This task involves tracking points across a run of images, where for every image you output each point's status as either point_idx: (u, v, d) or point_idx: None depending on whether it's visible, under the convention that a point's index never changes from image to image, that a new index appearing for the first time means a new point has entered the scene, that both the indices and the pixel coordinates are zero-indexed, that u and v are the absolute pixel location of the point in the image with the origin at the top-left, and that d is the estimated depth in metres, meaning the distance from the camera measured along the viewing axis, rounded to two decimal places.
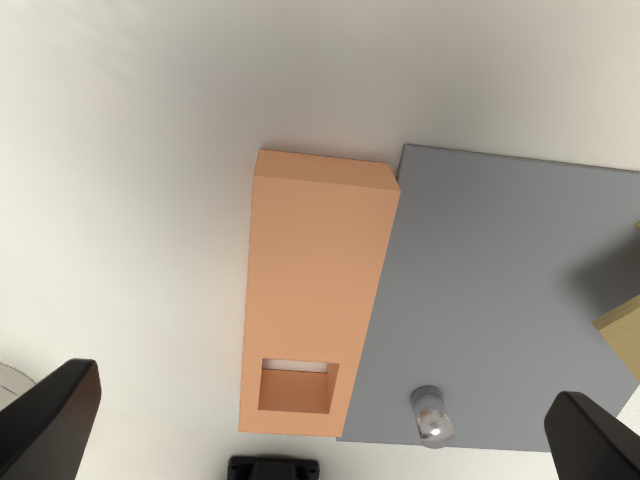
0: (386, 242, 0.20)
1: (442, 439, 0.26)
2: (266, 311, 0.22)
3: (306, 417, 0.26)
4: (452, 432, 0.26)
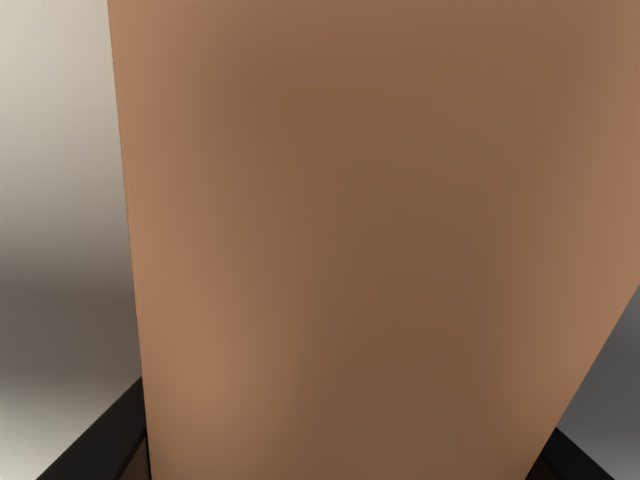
0: None
1: None
2: (217, 425, 0.07)
3: None
4: None
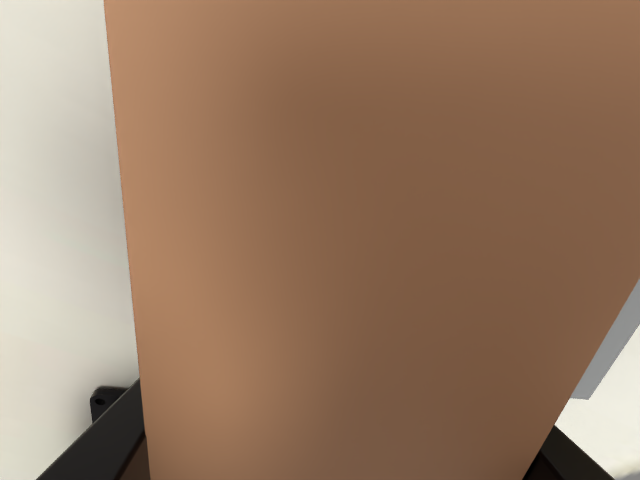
0: None
1: None
2: (214, 422, 0.07)
3: None
4: None
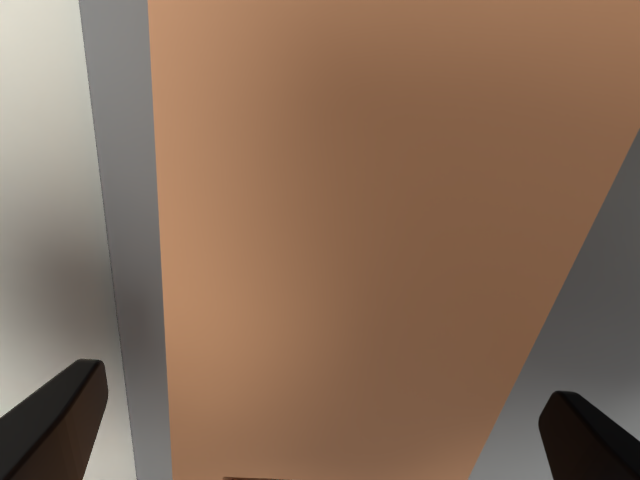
0: (626, 142, 0.06)
1: None
2: (227, 364, 0.08)
3: None
4: None
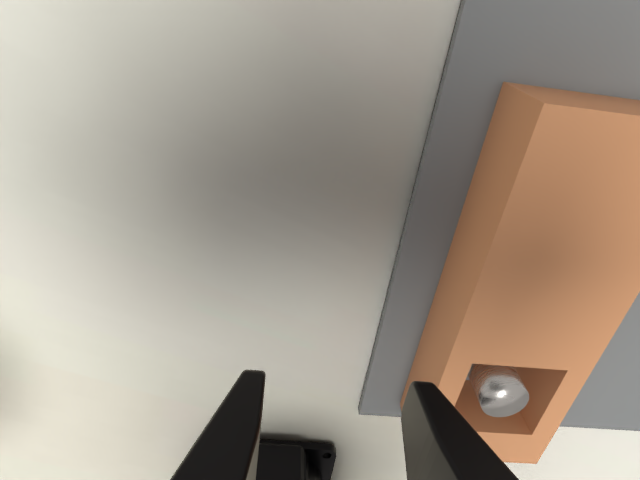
0: None
1: (511, 403, 0.19)
2: (497, 301, 0.16)
3: (502, 438, 0.20)
4: (526, 393, 0.19)
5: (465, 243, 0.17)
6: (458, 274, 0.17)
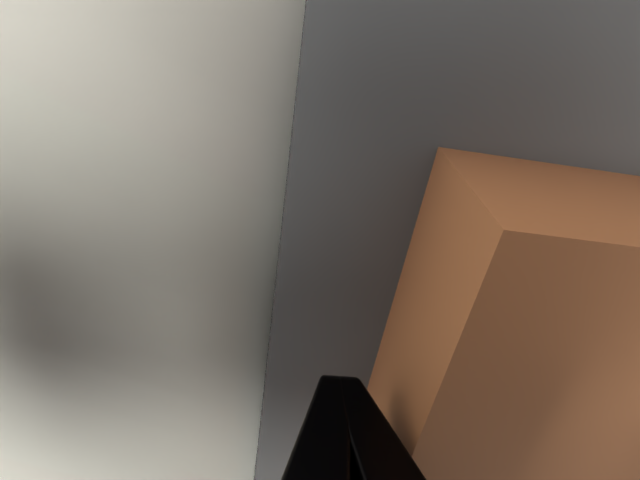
0: None
1: None
2: None
3: None
4: None
5: None
6: None
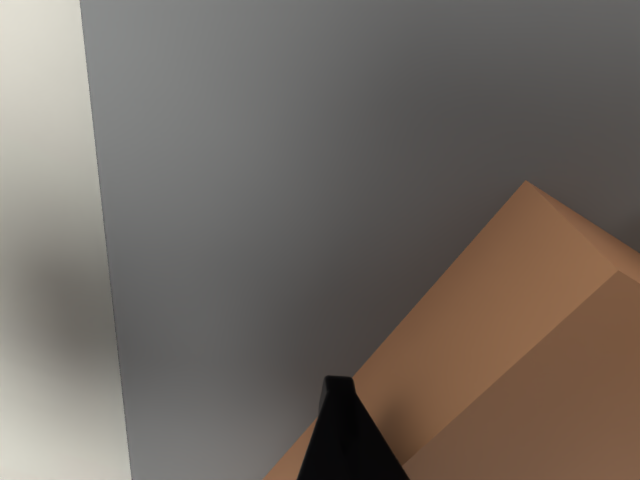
0: None
1: None
2: None
3: None
4: None
5: None
6: None
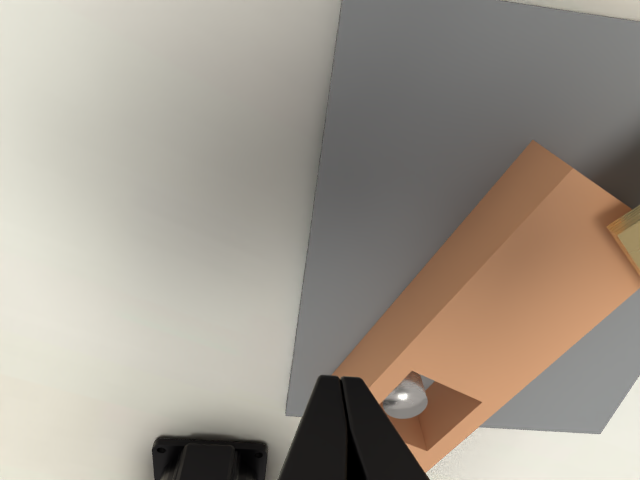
0: (630, 294, 0.18)
1: (412, 405, 0.20)
2: (459, 321, 0.18)
3: None
4: (424, 396, 0.20)
5: (447, 264, 0.19)
6: (430, 288, 0.19)
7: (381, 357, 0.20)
